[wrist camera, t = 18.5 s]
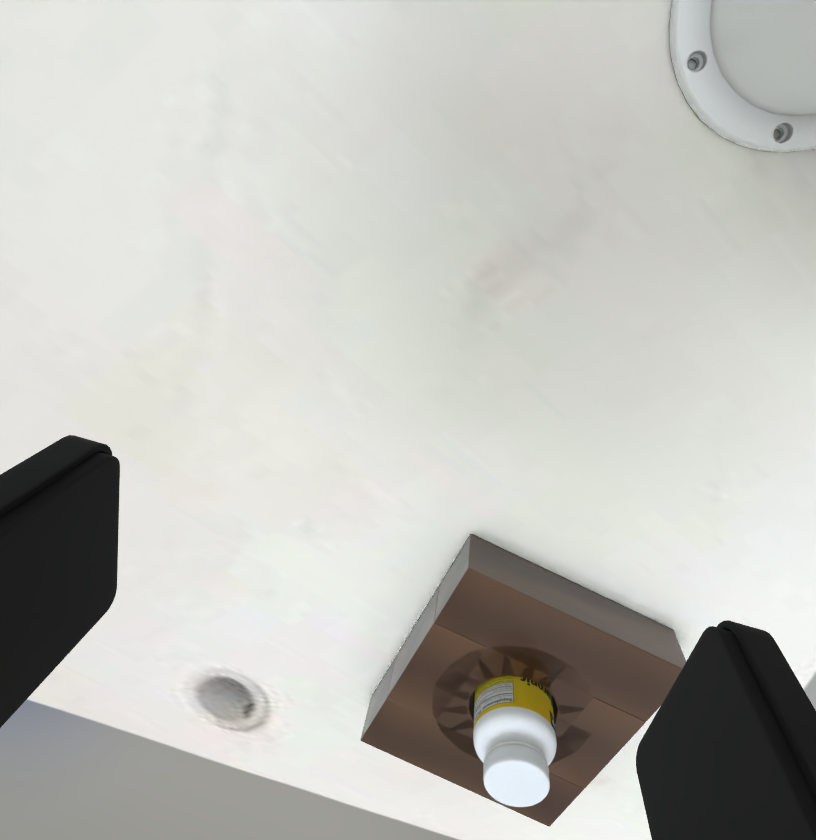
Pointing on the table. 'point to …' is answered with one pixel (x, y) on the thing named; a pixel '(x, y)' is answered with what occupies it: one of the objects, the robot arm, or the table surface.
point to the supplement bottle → (514, 739)
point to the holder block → (521, 672)
